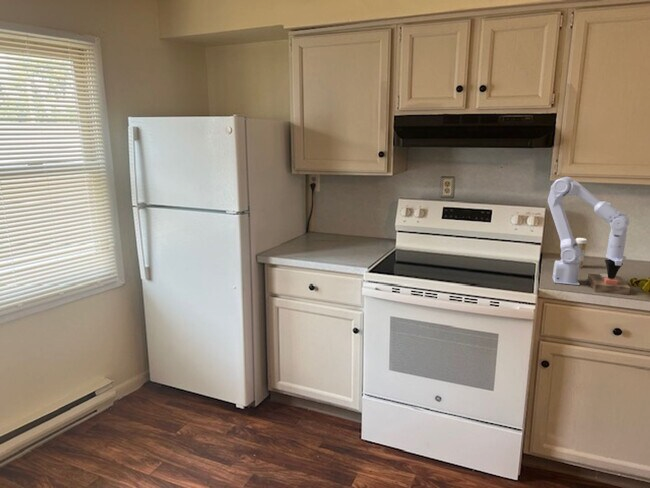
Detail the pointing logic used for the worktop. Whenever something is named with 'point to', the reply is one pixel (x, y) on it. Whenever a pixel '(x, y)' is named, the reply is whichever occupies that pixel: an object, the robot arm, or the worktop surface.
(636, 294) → the worktop surface
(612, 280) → the red key
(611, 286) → the key box
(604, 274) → the white key
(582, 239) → the sprinkles bottle
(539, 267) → the worktop surface
